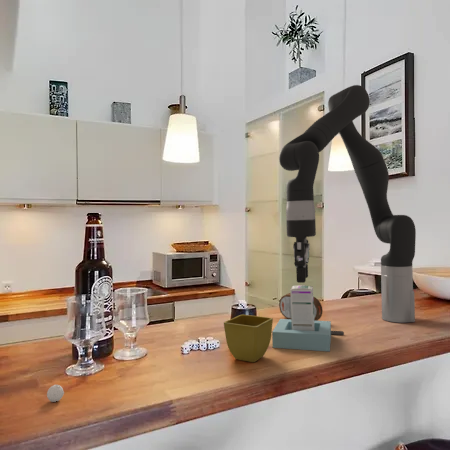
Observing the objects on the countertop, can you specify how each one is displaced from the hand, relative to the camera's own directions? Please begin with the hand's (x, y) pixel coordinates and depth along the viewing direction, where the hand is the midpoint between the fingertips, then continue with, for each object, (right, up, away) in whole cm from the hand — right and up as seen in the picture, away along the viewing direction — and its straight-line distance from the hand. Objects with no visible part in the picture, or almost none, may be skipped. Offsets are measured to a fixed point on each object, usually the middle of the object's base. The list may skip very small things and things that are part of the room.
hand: (302, 280), depth 105 cm
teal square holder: (0, -16, 0) cm, 16 cm away
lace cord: (+3, -16, +8) cm, 18 cm away
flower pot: (-15, -17, -12) cm, 26 cm away
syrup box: (0, -17, 0) cm, 17 cm away
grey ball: (-51, -18, -33) cm, 63 cm away
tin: (+4, -17, +23) cm, 29 cm away
